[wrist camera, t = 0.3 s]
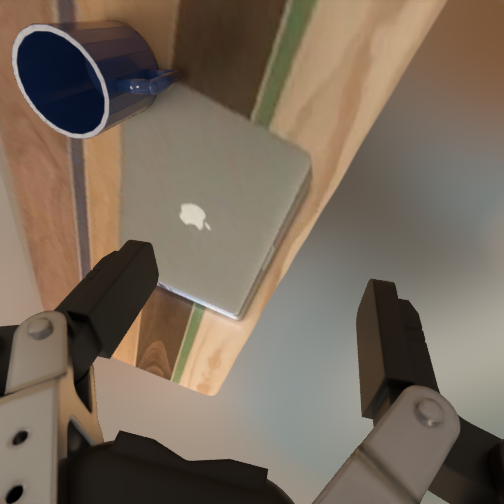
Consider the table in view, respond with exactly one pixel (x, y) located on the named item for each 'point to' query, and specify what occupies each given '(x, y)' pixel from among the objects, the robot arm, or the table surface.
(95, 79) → the mug
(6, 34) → the table surface
